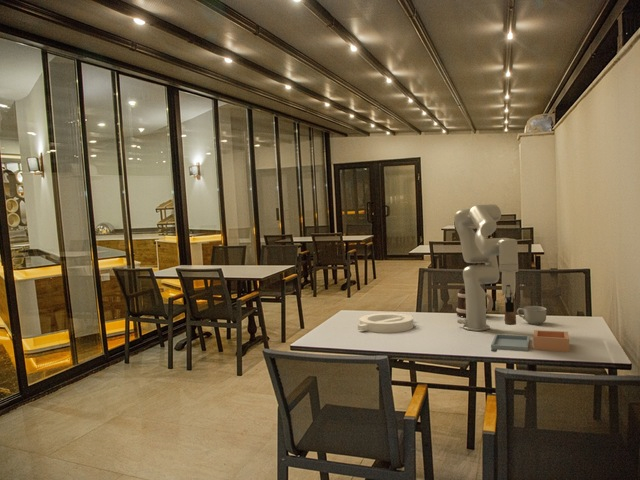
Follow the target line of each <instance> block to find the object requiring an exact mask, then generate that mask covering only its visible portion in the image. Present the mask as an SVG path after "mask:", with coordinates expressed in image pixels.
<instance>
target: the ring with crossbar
mask: <svg viewBox="0 0 640 480" xmlns="http://www.w3.org/2000/svg"><path fill="white" fill-rule="evenodd" d="M358 320H359V324H357V330H358V331H362V332H363V331H366V332H372V333H388V334H389V333H399V332H404V331H405V332H406V331H410V330H411V329H413V328H414V317H413V315H410V314H404V313H397V312H396V313H395V312H394V313H392V312H391V313H390V312H388V313H387V312H383V313H372V314H367V315H362V316H361V317H359V319H358Z"/></svg>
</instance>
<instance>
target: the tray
mask: <svg viewBox="0 0 640 480" xmlns="http://www.w3.org/2000/svg"><path fill="white" fill-rule="evenodd" d="M529 345H530V335H517V334H499V333H497V334H496V333H495V334H494V337H493V340H492V342H491V345H490V350H491V351H490V352H498V350H504V351H508V350H509V351H522V352H523V351H524V352H528V351H529Z"/></svg>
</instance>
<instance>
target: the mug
mask: <svg viewBox="0 0 640 480" xmlns="http://www.w3.org/2000/svg"><path fill="white" fill-rule="evenodd" d="M485 298H487V299H488V303H489V304H488V307H486V313H487V312H490V311H491V310H492V309H493V307H494V301H493V297H492V295H490V294H489V293H487V292H485ZM456 315H457V316H458V315H459V316H463V317H462V318H464V317H466V296H465V287H464V288H460V289H459V290H458V293H457V306H456ZM459 316H458V317H459Z"/></svg>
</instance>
